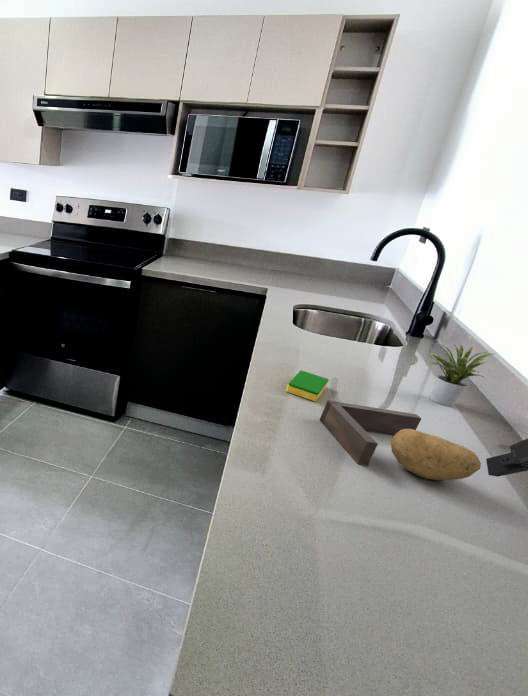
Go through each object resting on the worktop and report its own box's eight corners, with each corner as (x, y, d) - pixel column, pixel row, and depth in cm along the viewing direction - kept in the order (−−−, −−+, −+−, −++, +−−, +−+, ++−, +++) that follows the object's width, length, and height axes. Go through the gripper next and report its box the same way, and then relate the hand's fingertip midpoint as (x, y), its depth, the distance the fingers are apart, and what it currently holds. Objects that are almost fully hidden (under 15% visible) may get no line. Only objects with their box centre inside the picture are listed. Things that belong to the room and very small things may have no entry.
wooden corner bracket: (406, 433, 112) (416, 414, 110) (459, 480, 95) (472, 458, 93) (319, 419, 112) (327, 400, 110) (357, 464, 96) (367, 441, 94)
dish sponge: (325, 387, 132) (329, 378, 131) (315, 402, 121) (318, 393, 120) (297, 377, 136) (300, 369, 135) (285, 391, 125) (288, 382, 124)
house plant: (442, 390, 142) (470, 336, 135) (488, 414, 130) (521, 356, 123) (401, 388, 139) (427, 333, 132) (444, 412, 127) (475, 352, 120)
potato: (471, 502, 89) (494, 464, 86) (382, 471, 95) (400, 435, 91) (462, 477, 97) (482, 442, 93) (380, 450, 103) (396, 416, 99)
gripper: (711, 407, 60) (528, 451, 82) (601, 390, 60) (448, 438, 82) (732, 469, 57) (536, 497, 79) (616, 450, 58) (454, 483, 80)
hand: (492, 467), depth 81 cm, fingers closed
